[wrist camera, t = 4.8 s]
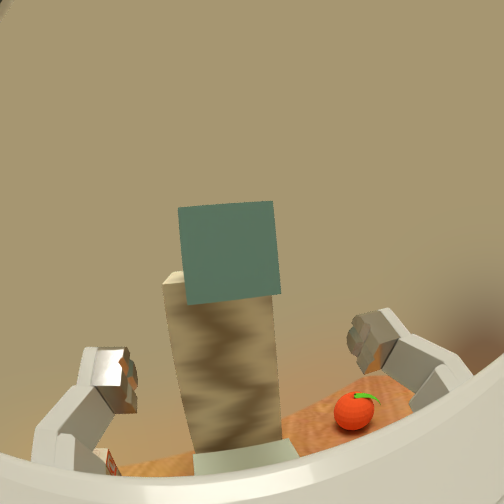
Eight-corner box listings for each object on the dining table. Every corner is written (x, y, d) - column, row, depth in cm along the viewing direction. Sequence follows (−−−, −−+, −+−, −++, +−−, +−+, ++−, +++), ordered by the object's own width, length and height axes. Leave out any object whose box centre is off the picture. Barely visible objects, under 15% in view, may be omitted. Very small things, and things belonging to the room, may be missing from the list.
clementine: (377, 414, 41) (381, 382, 41) (378, 437, 35) (383, 403, 35) (335, 415, 44) (336, 384, 44) (330, 438, 38) (332, 404, 37)
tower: (220, 527, 20) (161, 284, 20) (210, 469, 32) (172, 271, 31) (286, 515, 22) (269, 272, 21) (262, 461, 34) (241, 264, 33)
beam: (187, 305, 11) (177, 207, 11) (190, 269, 33) (186, 235, 33) (281, 293, 12) (272, 200, 12) (223, 266, 34) (220, 232, 34)
